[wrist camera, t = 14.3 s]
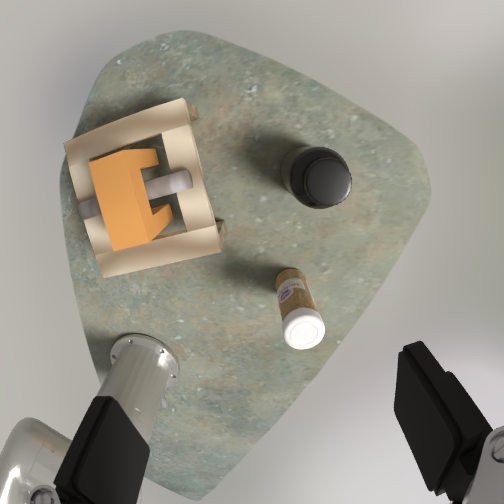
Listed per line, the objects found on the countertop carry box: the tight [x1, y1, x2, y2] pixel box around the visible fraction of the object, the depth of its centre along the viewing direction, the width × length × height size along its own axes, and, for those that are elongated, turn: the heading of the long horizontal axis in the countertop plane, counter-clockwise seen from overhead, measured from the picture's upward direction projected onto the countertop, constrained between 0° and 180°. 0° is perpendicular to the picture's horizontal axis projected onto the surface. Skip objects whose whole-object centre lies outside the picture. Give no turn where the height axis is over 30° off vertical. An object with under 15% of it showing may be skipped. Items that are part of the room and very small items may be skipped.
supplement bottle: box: [281, 146, 352, 209], centre depth 34 cm, size 7×7×12 cm
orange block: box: [89, 149, 174, 251], centre depth 32 cm, size 9×4×10 cm, turn 12°
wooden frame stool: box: [64, 98, 227, 278], centre depth 35 cm, size 17×15×11 cm
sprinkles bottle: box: [275, 269, 325, 349], centre depth 39 cm, size 5×5×14 cm
